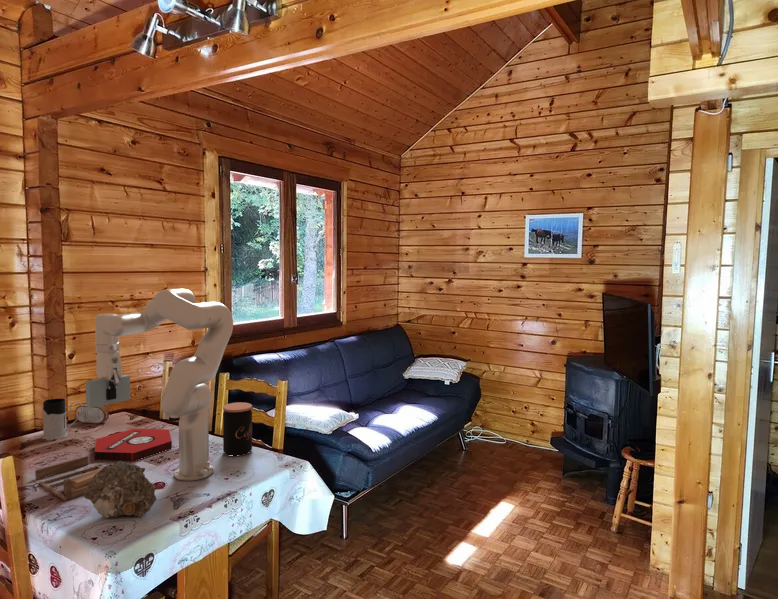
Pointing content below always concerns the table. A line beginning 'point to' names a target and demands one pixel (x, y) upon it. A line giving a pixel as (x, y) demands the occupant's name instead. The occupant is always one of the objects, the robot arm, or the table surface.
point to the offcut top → (83, 479)
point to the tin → (92, 414)
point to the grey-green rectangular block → (98, 391)
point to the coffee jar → (237, 428)
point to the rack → (67, 482)
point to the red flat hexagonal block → (132, 444)
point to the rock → (121, 490)
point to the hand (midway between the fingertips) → (108, 398)
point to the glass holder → (55, 419)
